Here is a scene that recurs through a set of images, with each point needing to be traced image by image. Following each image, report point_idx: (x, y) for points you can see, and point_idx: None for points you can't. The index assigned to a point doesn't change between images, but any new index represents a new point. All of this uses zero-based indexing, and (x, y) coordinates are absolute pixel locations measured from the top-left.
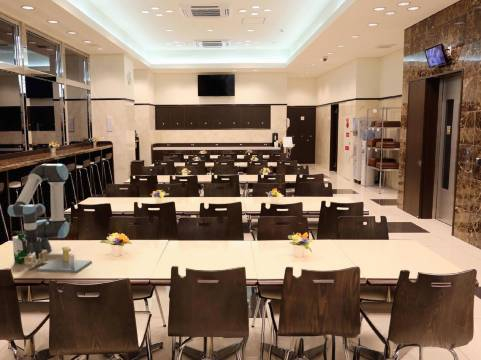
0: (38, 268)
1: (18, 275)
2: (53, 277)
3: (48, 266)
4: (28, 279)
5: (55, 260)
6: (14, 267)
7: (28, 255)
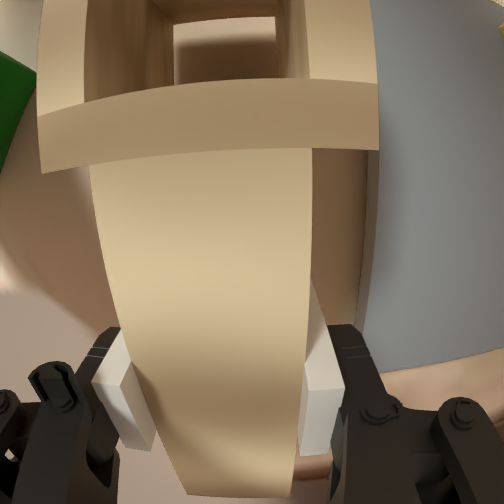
0: None
1: None
2: (493, 409)
3: (453, 279)
4: None
5: (419, 12)
6: (30, 277)
7: (153, 433)
